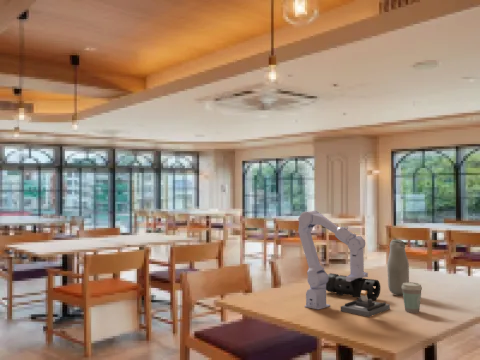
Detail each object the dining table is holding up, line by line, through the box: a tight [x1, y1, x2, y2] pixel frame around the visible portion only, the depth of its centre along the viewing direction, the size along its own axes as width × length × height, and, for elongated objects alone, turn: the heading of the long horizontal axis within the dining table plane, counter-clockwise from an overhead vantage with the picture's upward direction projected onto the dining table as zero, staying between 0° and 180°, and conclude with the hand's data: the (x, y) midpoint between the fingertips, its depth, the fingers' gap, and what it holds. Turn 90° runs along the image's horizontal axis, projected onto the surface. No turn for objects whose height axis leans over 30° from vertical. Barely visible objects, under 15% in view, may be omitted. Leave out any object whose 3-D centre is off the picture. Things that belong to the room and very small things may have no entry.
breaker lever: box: [360, 290, 368, 301], centre depth 203 cm, size 2×3×4 cm, turn 44°
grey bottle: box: [386, 239, 410, 296], centre depth 232 cm, size 10×10×28 cm
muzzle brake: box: [326, 272, 381, 301], centre depth 230 cm, size 10×28×10 cm, turn 48°
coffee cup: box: [402, 281, 423, 314], centre depth 201 cm, size 8×8×12 cm
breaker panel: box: [340, 297, 391, 318], centre depth 204 cm, size 18×14×5 cm
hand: (357, 295), depth 200 cm, fingers closed
